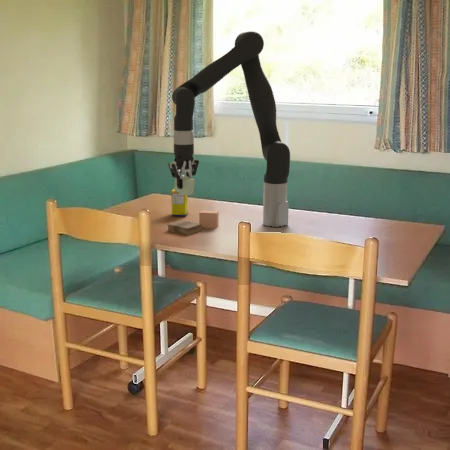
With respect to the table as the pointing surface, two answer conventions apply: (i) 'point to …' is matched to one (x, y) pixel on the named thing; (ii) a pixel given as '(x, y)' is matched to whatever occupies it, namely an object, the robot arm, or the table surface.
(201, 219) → the terracotta brick
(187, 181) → the sage brick
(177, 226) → the walnut slab
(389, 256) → the table surface
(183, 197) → the supplement box
